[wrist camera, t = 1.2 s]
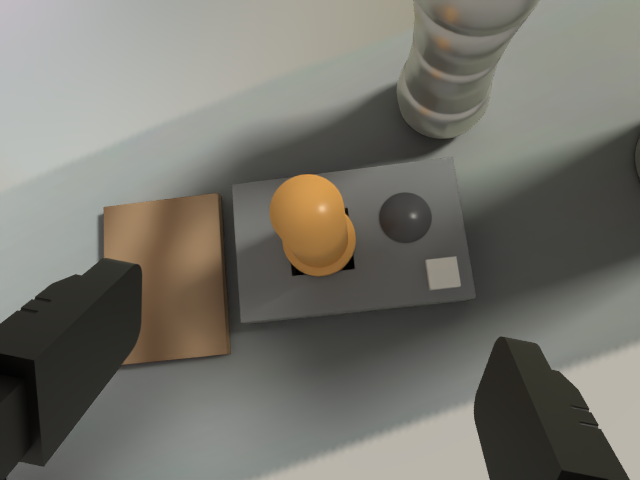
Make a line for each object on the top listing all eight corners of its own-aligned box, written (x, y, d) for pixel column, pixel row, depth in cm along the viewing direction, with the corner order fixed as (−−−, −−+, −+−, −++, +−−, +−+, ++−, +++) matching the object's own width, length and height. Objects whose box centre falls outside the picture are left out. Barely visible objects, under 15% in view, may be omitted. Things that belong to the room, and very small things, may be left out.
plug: (352, 212, 37) (348, 159, 26) (360, 277, 36) (359, 250, 25) (287, 220, 37) (256, 171, 27) (292, 284, 36) (263, 261, 26)
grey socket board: (446, 168, 37) (454, 153, 34) (468, 300, 35) (478, 296, 32) (240, 194, 38) (229, 181, 35) (248, 323, 36) (238, 322, 33)
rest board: (221, 196, 38) (217, 192, 37) (230, 353, 36) (226, 353, 35) (110, 210, 39) (103, 207, 38) (111, 365, 36) (104, 366, 35)
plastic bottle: (454, 163, 37) (557, -34, 18) (378, 121, 38) (394, -106, 19) (496, 95, 38) (637, -165, 18) (419, 56, 39) (476, -226, 20)
